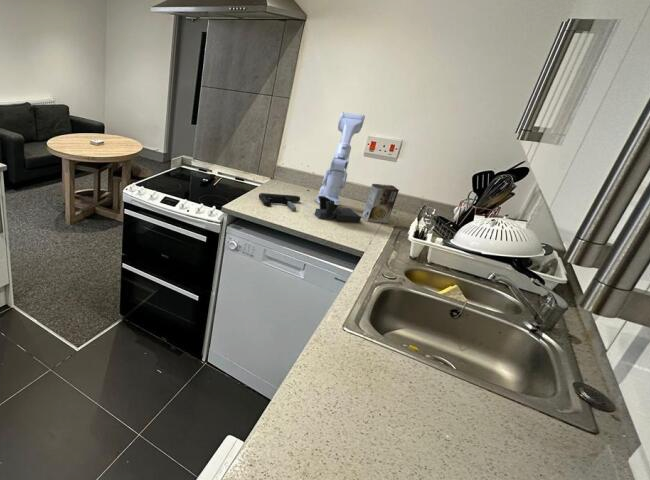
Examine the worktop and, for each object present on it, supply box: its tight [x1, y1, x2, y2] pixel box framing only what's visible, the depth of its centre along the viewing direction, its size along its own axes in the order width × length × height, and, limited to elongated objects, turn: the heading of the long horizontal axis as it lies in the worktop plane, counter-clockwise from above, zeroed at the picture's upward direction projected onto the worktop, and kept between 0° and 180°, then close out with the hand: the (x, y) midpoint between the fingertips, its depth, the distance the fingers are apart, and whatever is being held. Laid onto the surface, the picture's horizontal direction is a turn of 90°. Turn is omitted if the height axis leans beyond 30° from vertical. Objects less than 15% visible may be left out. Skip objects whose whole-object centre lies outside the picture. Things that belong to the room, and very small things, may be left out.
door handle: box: [258, 192, 301, 212], centre depth 188 cm, size 3×20×16 cm
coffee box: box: [361, 183, 400, 224], centre depth 176 cm, size 9×6×16 cm
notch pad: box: [334, 207, 362, 224], centre depth 177 cm, size 10×10×3 cm
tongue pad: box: [314, 208, 339, 221], centre depth 177 cm, size 5×9×3 cm, turn 93°
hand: (325, 214), depth 177 cm, fingers closed on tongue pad, 5 cm apart
